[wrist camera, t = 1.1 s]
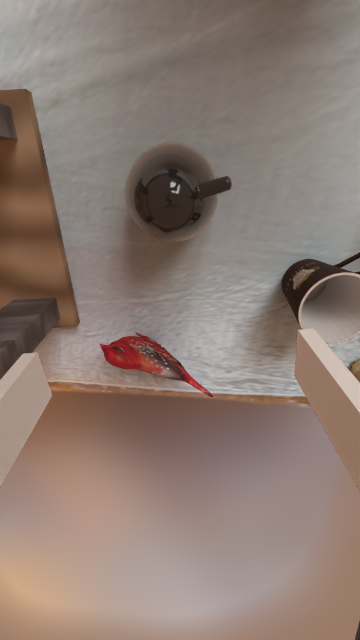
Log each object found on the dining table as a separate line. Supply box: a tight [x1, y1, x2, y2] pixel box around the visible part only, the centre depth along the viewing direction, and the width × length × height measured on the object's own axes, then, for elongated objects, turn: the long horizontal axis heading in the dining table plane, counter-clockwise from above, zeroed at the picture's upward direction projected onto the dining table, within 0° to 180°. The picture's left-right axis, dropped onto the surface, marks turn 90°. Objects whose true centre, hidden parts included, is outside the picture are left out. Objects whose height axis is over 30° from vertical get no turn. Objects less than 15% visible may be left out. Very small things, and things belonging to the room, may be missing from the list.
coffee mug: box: [282, 253, 360, 344], centre depth 39 cm, size 12×9×10 cm
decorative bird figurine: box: [100, 332, 213, 397], centre depth 44 cm, size 3×18×10 cm, turn 57°
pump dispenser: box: [125, 142, 232, 243], centre depth 32 cm, size 10×10×15 cm
